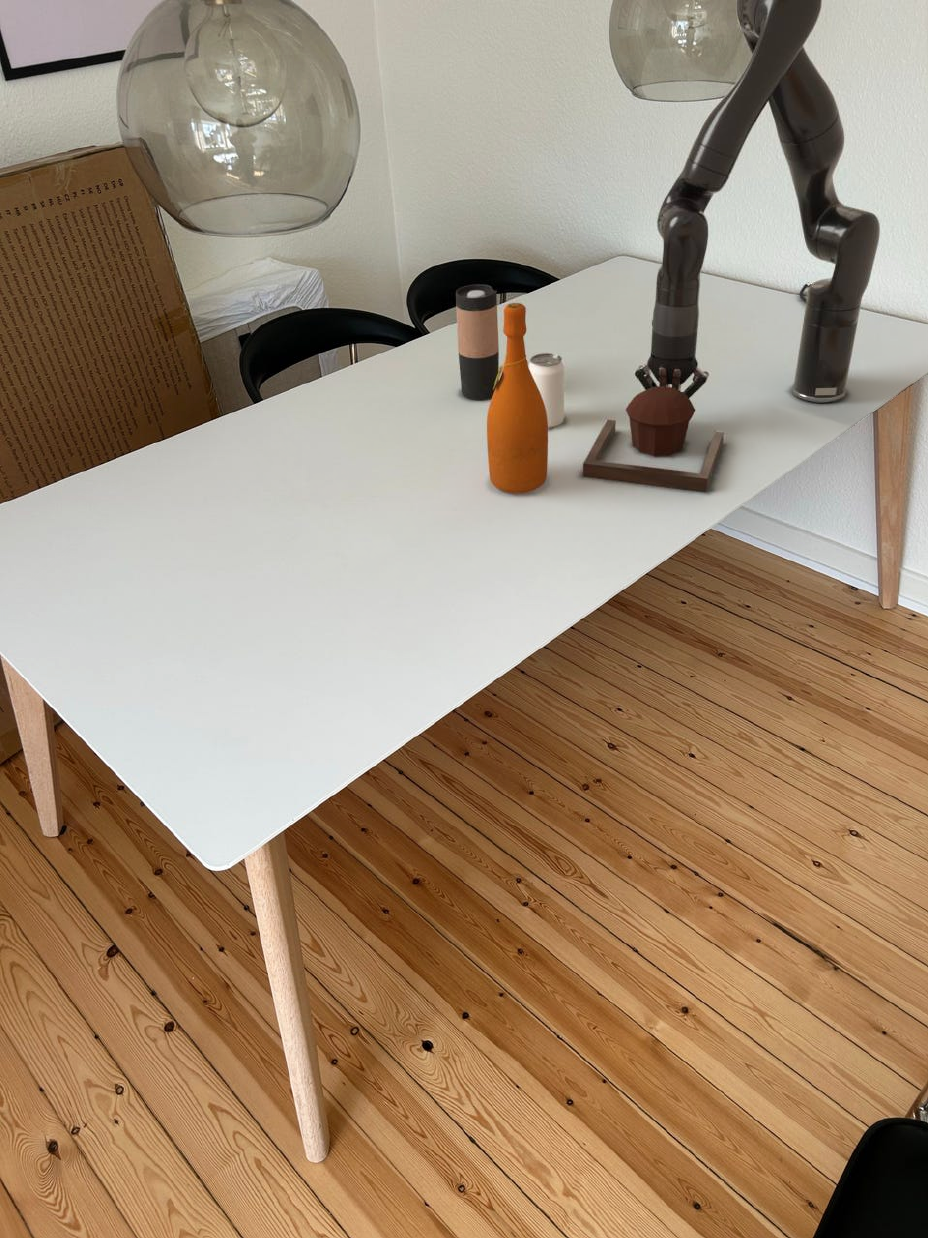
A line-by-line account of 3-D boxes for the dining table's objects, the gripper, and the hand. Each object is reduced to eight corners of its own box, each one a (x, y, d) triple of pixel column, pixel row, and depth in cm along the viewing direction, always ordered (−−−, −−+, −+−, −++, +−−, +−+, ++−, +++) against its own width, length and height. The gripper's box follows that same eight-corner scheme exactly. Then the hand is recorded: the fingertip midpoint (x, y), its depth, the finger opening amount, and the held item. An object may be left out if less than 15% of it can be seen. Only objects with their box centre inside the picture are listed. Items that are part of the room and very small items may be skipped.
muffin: (673, 425, 183) (678, 372, 177) (704, 451, 175) (709, 397, 169) (613, 437, 181) (615, 384, 175) (641, 465, 172) (644, 410, 166)
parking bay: (607, 432, 182) (607, 419, 181) (722, 445, 176) (724, 432, 175) (582, 476, 170) (583, 463, 168) (706, 492, 164) (707, 478, 162)
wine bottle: (517, 462, 175) (513, 288, 157) (560, 480, 169) (561, 301, 151) (476, 483, 170) (468, 306, 152) (520, 503, 164) (516, 321, 146)
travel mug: (454, 398, 197) (448, 296, 185) (469, 382, 203) (464, 282, 191) (491, 403, 195) (488, 299, 183) (505, 387, 200) (502, 285, 188)
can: (561, 429, 184) (561, 366, 177) (526, 428, 185) (525, 365, 178) (565, 414, 189) (566, 352, 182) (531, 413, 190) (530, 351, 183)
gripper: (718, 321, 172) (709, 415, 182) (641, 315, 176) (636, 408, 186) (710, 337, 166) (701, 434, 177) (631, 331, 170) (626, 425, 181)
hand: (668, 420), depth 181 cm, fingers closed
